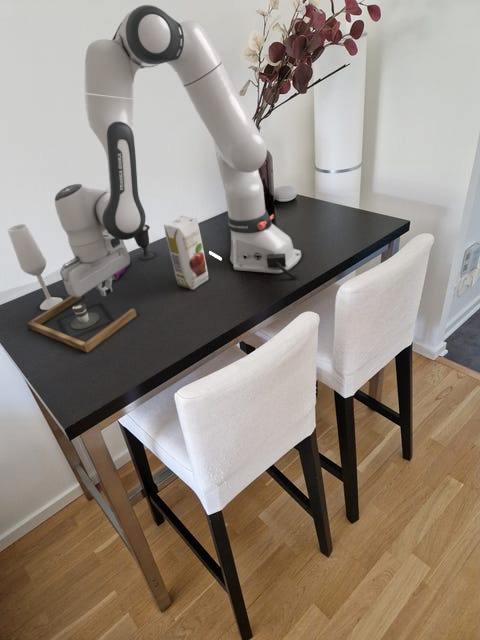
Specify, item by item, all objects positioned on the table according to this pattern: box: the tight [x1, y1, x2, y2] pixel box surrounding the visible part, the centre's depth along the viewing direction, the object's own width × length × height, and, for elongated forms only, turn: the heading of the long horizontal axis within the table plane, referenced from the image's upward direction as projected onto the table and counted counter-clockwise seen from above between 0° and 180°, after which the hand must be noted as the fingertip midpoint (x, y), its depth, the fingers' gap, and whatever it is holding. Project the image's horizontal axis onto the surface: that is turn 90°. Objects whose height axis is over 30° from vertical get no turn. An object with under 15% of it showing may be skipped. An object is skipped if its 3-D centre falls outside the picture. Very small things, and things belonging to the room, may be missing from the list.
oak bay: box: [26, 295, 138, 354], centre depth 115 cm, size 24×17×2 cm
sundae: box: [133, 223, 155, 261], centre depth 141 cm, size 7×7×15 cm
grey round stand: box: [70, 302, 100, 330], centre depth 115 cm, size 12×12×5 cm
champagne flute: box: [7, 223, 64, 311], centre depth 120 cm, size 7×7×24 cm
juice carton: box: [163, 215, 209, 290], centre depth 121 cm, size 8×9×19 cm
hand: (107, 293), depth 120 cm, fingers closed
